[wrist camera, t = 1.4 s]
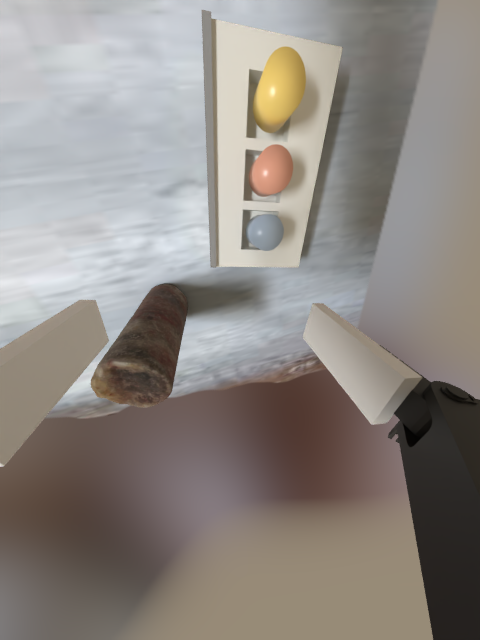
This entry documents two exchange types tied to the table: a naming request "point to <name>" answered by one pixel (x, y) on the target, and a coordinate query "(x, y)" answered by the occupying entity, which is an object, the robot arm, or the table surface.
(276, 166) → the button terracotta
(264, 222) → the button slate
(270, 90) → the button mustard
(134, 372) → the brown rounded bar
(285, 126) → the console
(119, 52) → the table surface
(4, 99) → the table surface
